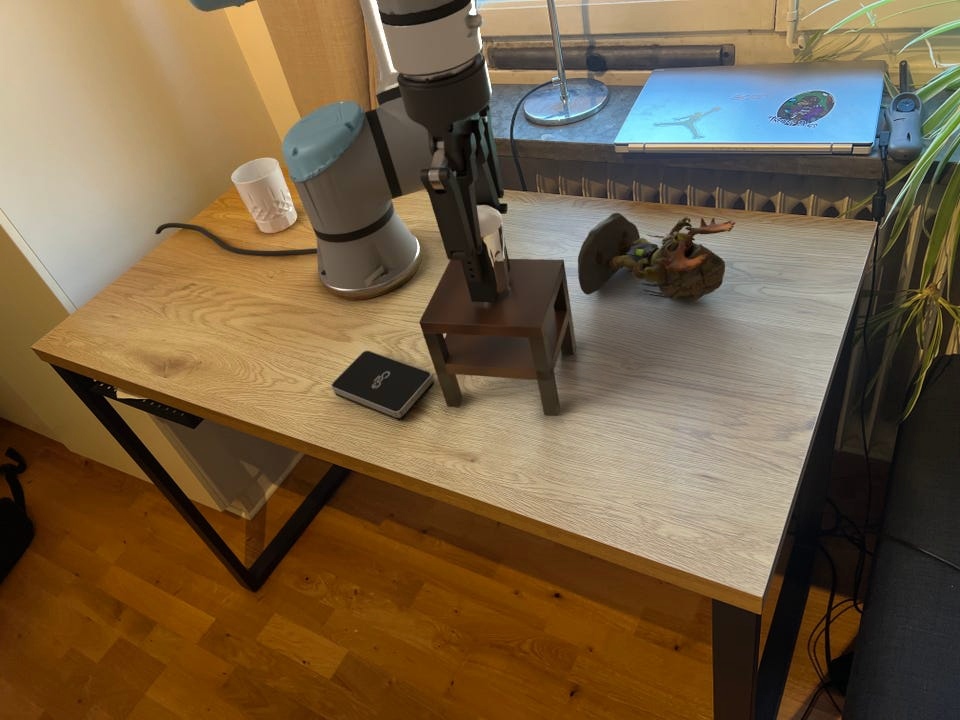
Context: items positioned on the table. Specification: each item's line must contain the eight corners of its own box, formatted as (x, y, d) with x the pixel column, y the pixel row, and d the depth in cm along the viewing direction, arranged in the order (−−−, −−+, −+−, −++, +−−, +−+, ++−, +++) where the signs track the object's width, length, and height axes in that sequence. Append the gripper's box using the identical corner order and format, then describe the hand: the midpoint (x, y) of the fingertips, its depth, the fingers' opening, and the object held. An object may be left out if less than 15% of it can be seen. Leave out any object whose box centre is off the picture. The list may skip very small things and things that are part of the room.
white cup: (295, 231, 118) (272, 178, 111) (251, 239, 119) (225, 186, 112) (304, 206, 124) (282, 153, 117) (262, 213, 125) (238, 162, 118)
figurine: (611, 198, 94) (743, 202, 83) (624, 260, 100) (750, 273, 88) (551, 250, 87) (686, 263, 75) (568, 314, 92) (697, 337, 80)
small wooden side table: (447, 406, 82) (418, 322, 73) (474, 341, 89) (451, 257, 81) (557, 416, 78) (541, 327, 69) (576, 347, 85) (563, 258, 76)
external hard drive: (370, 360, 91) (365, 349, 89) (438, 385, 85) (434, 373, 84) (334, 397, 87) (329, 386, 86) (403, 425, 81) (398, 414, 80)
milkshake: (463, 278, 76) (441, 199, 69) (512, 268, 76) (495, 187, 69) (466, 305, 73) (444, 225, 66) (518, 294, 73) (500, 212, 66)
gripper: (449, 107, 52) (504, 342, 67) (509, 17, 63) (544, 236, 79) (358, 113, 54) (431, 338, 70) (431, 25, 66) (480, 236, 81)
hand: (491, 284), depth 74 cm, fingers closed on milkshake, 4 cm apart
